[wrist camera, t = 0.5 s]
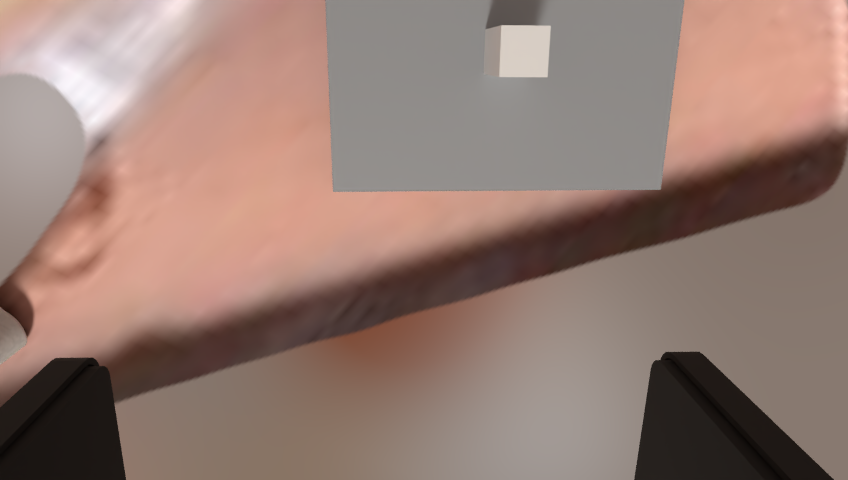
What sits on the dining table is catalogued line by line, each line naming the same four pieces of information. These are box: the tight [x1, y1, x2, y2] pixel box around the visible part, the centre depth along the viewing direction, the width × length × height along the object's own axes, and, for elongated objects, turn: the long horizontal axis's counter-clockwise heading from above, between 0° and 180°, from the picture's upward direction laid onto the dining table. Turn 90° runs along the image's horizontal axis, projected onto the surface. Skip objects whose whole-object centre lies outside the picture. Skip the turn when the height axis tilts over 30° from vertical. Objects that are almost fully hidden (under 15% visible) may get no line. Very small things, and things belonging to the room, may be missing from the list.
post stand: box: [325, 0, 684, 192], centre depth 32 cm, size 16×20×7 cm
